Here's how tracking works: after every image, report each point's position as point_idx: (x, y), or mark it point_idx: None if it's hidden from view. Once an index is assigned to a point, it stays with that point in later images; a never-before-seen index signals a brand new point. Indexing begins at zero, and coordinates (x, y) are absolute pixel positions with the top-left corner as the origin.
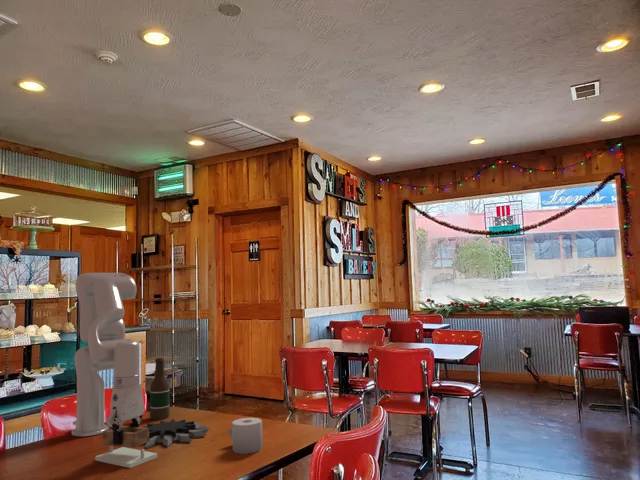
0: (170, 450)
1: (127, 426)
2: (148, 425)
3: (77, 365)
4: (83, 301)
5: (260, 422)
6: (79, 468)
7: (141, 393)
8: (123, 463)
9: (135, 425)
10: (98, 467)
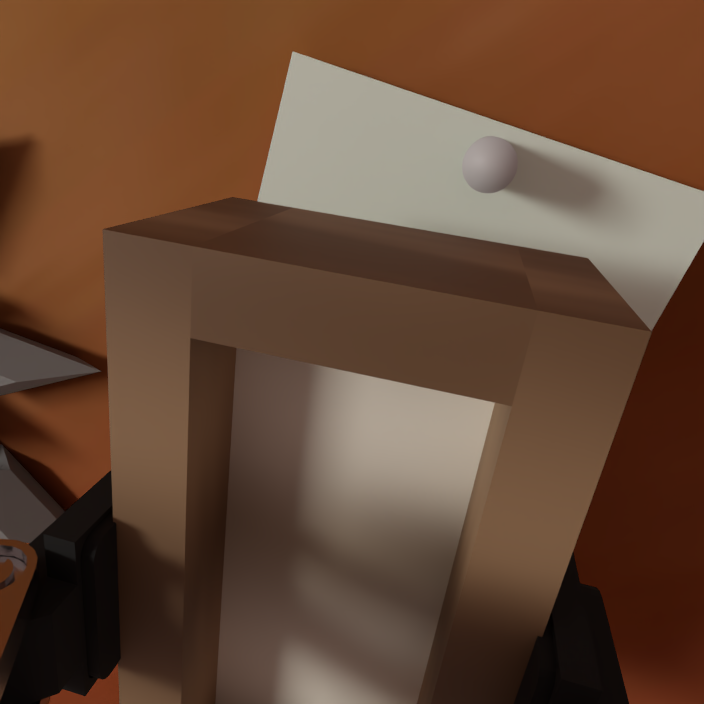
0: (57, 42)
1: (126, 694)
2: None
3: None
4: None
5: None
6: (666, 689)
7: None
8: (652, 321)
9: (98, 582)
10: (649, 550)
